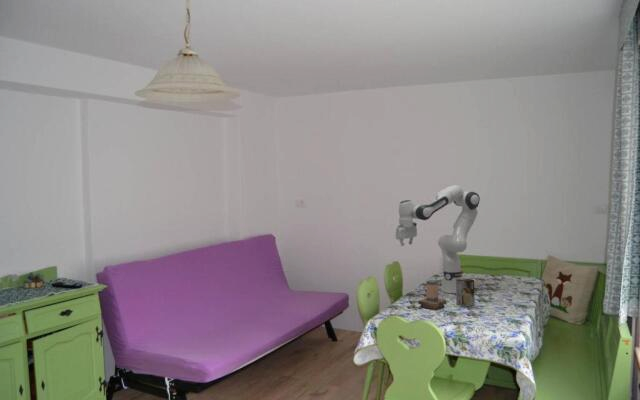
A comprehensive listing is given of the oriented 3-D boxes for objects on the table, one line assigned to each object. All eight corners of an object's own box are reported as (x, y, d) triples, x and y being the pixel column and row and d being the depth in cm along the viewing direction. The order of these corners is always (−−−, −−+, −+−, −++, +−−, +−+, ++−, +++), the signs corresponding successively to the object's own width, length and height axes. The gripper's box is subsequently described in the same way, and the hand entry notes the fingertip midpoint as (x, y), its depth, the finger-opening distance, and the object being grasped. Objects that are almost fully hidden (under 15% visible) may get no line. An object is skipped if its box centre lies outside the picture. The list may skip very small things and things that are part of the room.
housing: (430, 299, 311) (430, 279, 310) (438, 300, 307) (437, 280, 307) (426, 300, 307) (426, 281, 307) (433, 301, 303) (433, 282, 303)
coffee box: (469, 303, 314) (468, 278, 314) (474, 305, 308) (474, 279, 308) (456, 304, 312) (455, 279, 311) (461, 307, 306) (461, 280, 305)
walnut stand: (429, 303, 316) (429, 297, 315) (446, 306, 307) (446, 300, 307) (418, 307, 307) (418, 300, 307) (435, 310, 299) (435, 303, 298)
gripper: (400, 225, 326) (401, 247, 327) (418, 223, 341) (418, 243, 342) (392, 225, 331) (393, 246, 331) (410, 223, 346) (411, 243, 346)
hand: (406, 245), depth 337 cm, fingers open, 8 cm apart
